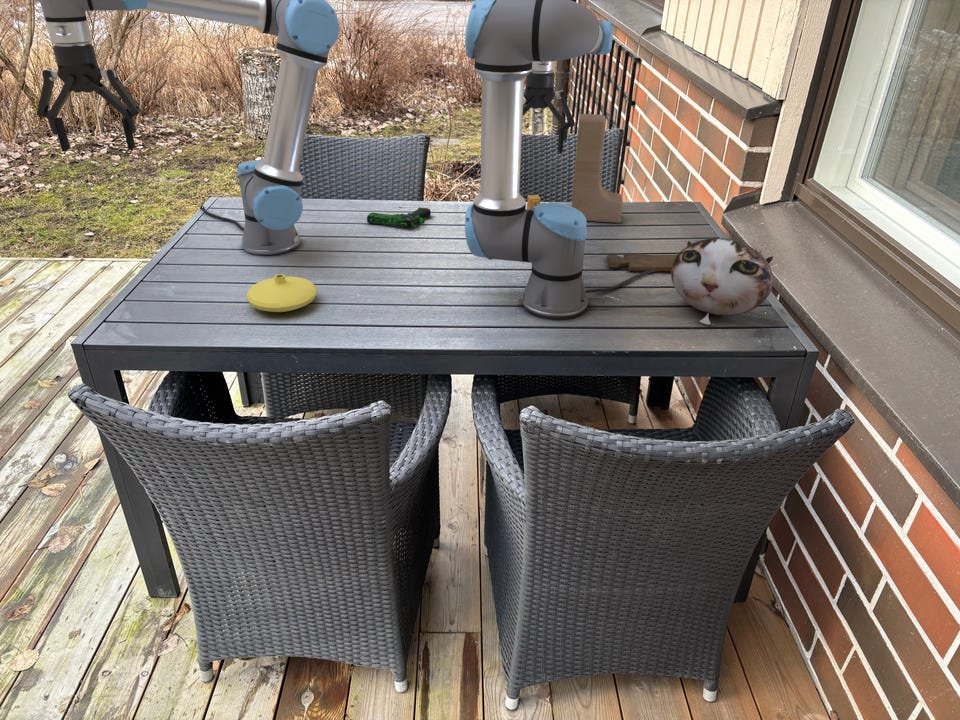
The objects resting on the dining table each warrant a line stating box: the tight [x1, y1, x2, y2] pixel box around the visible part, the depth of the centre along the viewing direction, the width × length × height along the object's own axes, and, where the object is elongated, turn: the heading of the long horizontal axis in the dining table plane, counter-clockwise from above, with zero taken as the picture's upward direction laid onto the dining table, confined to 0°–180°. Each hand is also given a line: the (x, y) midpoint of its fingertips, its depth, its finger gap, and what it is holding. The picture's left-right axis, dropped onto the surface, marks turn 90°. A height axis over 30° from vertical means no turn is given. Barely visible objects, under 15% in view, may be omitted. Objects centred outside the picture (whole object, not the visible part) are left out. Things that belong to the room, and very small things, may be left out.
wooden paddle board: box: [606, 253, 678, 272], centre depth 188 cm, size 26×2×10 cm
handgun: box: [366, 207, 432, 230], centre depth 214 cm, size 16×3×15 cm
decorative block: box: [571, 113, 624, 224], centre depth 212 cm, size 8×15×30 cm, turn 82°
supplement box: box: [526, 194, 541, 210], centre depth 208 cm, size 3×3×10 cm
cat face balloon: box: [670, 237, 774, 326], centre depth 161 cm, size 22×18×20 cm
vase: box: [246, 273, 318, 313], centre depth 164 cm, size 16×16×7 cm
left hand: (99, 149), depth 156 cm, fingers open, 13 cm apart
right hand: (536, 153), depth 199 cm, fingers open, 13 cm apart
